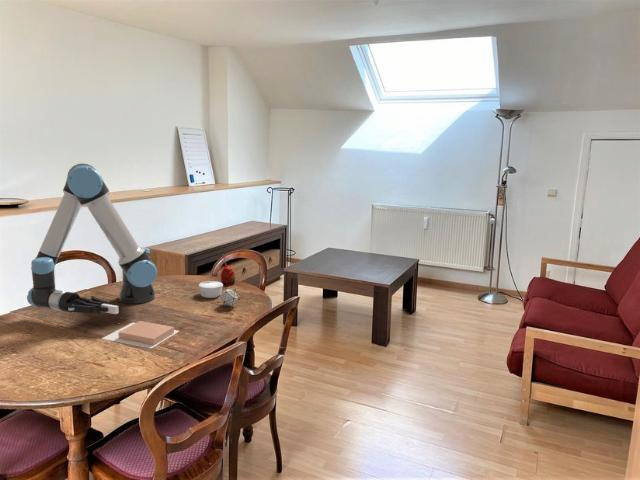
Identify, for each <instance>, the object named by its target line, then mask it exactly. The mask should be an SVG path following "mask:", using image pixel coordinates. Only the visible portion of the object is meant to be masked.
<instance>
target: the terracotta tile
mask: <svg viewBox="0 0 640 480" xmlns="http://www.w3.org/2000/svg"><path fill="white" fill-rule="evenodd" d="M134 323H135V324H133V325H131V326H129V327H127V328H125V329H123V330H122V331H120V332H118V336H119V338H122V339H127V340H132V341H137V342H142V343H147V344H152V345H155V344H156V343H158V342H160V341H161V340H163V339H164V338H166V337H168V336H169V335H171V334H173V333H174V330H175V327H174V326H170V325H165V324H159V323H155V322H149V321H142V320H139V321H137V322H134Z"/></svg>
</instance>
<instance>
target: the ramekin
mask: <svg viewBox="0 0 640 480" xmlns="http://www.w3.org/2000/svg"><path fill="white" fill-rule="evenodd" d="M223 287H224V284H223V283H222V281H221V282H220V281H214V280H213V281H212V280H209V281H202V282H200V283H198V289H199V294H200V295H201V297H202V298H205V299H206V298H207V299H208V298H209V299H215V298H218V295H219V297H220V295H221V294H222V293H223Z"/></svg>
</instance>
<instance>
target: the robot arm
mask: <svg viewBox="0 0 640 480" xmlns="http://www.w3.org/2000/svg"><path fill="white" fill-rule="evenodd" d="M62 191H63V196H62V197H61V198H62V199H61V200H60V203H59V205H58V207H57V210H56V211H55V213H54V216H53V219H52V221H51V224H50V225H49V228H48V229H47V233H46V234H45V237H44V240H43V241H42V243H41V246H40V248H39V251H38V252H37V255H36V256H35V258H34V259H32V260H31V264H30V265H31V268H30V269H31V275H32V276H31V278H32V288H30V289H29V291H28V292H27V295H26V299H27V303H28V304H30V305H31V306H33V307H37V308H40V309H41V308H43V309H49V310H55V311H58V312H66V313H70V314H71V313H79V314H80V313H83V314H96V313H97V314H98V315H100V314H101V313H108V314H112V315H118V314H119V312H120V311H119V305H114V304H109V303H108V301H107V300H104V299H100V298H98V297H95V296H90V297H89V298H87V297H84V296H83V297H81V296H80V295H79V294H78V293H76V292H70V291H66V290H59V289H56V277H55V275H56V274H55V269H56V268H55V267H56V265H57V262H58V260H59V257H60V256H61V252H62V251H63V248H64V247H65V244H66V241H67V240H68V237H69V235H70V233H71V230H72V228H73V227H74V226H73V225H74V224H75V221H76V220H77V217H78V215H79V213H80V210H81V209H82V207H86V208H87V209H88V211H89V212H90V214H91V215H92V217H93V218H94V221H96V223H97V225H98V226H99V228H100V229H101V231H102V232H103V234H104V236H105V237H106V239H107V240H108V242H109V243H110V245H111V247H112V248H113V250H114V252H115V253H116V255H117V256H118V258H119V259H118V262H117V263H118V265H119V266H120V269H121V270H122V271H121V273H122V283H121V284H122V285H121V288H120V291H119V295H118V299H119V302H120V303H121V302H122V303H123V304H124V303H126V304H144V303H147V302H151V301H153V300H155V298H156V291H155V288H154V286H153V282H154V281H155V280H156V278H157V275H158V269H157V266H156V264H155V263H154V262H153V261H152V259H151V250H150V248H148V247H140V246H139V245H138V244H137V242H136V240H135V238H134V236H133V235H132V234H131V231H130V230H129V229H128V226H127V225H126V224H125V222H124V221H123V219H122V216H120V214H119V211H118V210H117V209H116V207H115V206H114V204H113V202H112V200H111V199H110V197H109V194H110V190H109V188H108V187H107V185H106V183H105V181H104V179H103V178H102V174H100V172H99V171H98V170H97V169H96V168H95V167H94V166H92V165H90V164H88V163H76V164H75V165H73V166H72V167H71V168H70V169H69V170H68V172H67V175H66V181H65V185H64V187H63V189H62Z"/></svg>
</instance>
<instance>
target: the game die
mask: <svg viewBox="0 0 640 480" xmlns="http://www.w3.org/2000/svg"><path fill="white" fill-rule="evenodd" d="M236 291H237V288H235V289H229V288H227V287H225V289H224V290H223V291H222V293H221V295H220V296H219V295H218V297H219V298H220V300H221V302H222V305H221V306H222V307H224V306H229V307H231V309H233V308H234V305H235V304H236V303H237V301H240V300H241V298H239V297H238V294H237V292H236ZM218 297H217V298H218Z"/></svg>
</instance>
